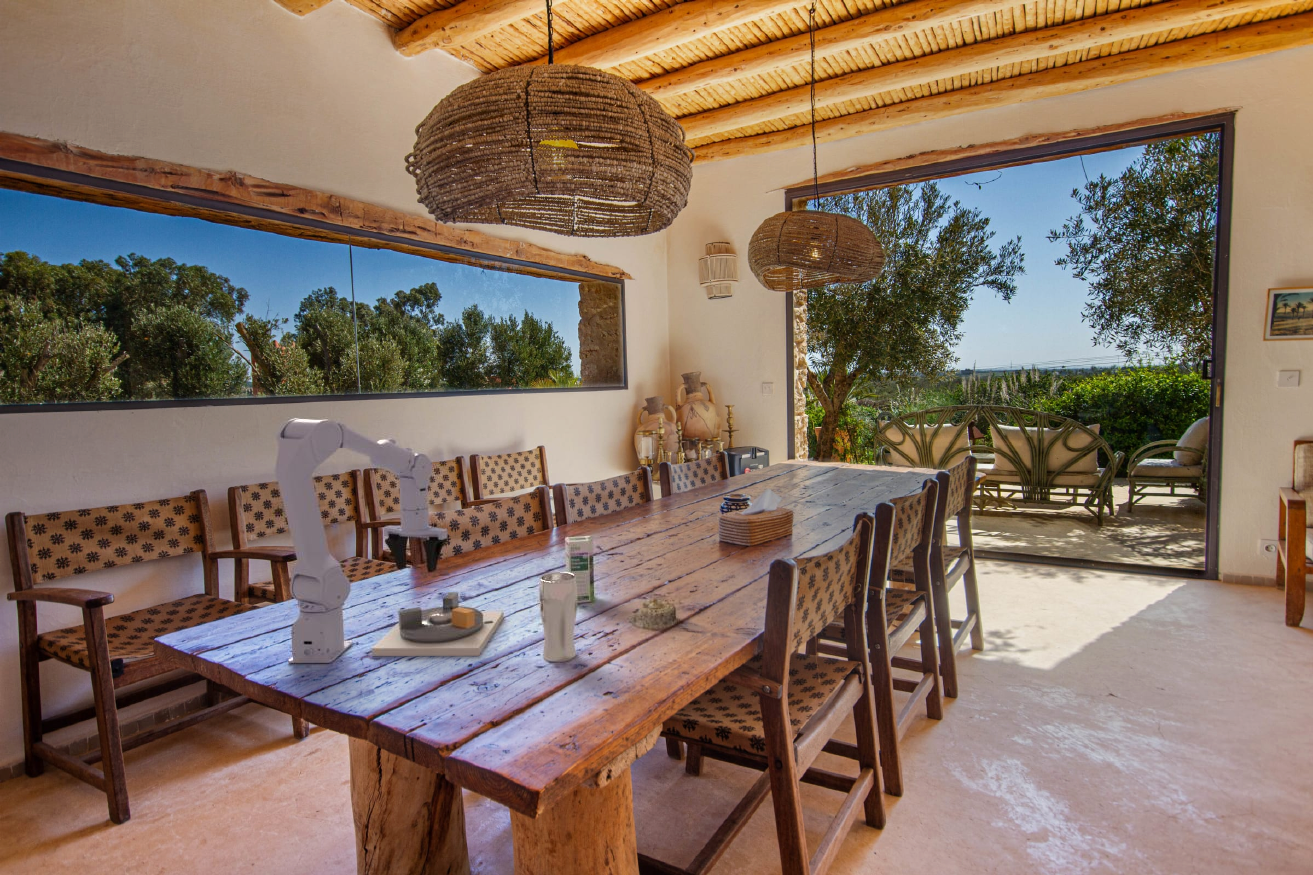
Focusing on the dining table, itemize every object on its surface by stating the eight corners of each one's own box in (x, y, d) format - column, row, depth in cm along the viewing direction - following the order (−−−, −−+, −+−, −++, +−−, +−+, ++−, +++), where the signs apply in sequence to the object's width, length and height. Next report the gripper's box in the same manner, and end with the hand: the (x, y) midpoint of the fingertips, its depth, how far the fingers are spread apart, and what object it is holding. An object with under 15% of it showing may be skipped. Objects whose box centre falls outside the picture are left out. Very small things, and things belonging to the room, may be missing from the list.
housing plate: (479, 655, 129) (478, 646, 128) (371, 655, 129) (371, 647, 129) (503, 617, 148) (503, 610, 148) (410, 618, 149) (410, 610, 149)
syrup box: (569, 604, 157) (568, 541, 155) (565, 596, 162) (564, 535, 161) (594, 602, 158) (593, 540, 157) (590, 594, 164) (589, 534, 163)
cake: (678, 616, 151) (680, 592, 150) (676, 634, 141) (678, 609, 140) (633, 611, 152) (635, 588, 151) (628, 629, 142) (629, 604, 141)
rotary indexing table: (470, 642, 130) (470, 619, 130) (386, 642, 131) (385, 619, 130) (491, 613, 146) (491, 592, 146) (416, 613, 146) (415, 592, 146)
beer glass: (560, 645, 133) (559, 569, 132) (586, 654, 129) (584, 575, 128) (532, 656, 128) (530, 577, 127) (558, 666, 124) (556, 584, 122)
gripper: (454, 506, 151) (456, 566, 153) (397, 503, 155) (399, 562, 157) (435, 512, 145) (437, 575, 146) (376, 509, 149) (379, 571, 150)
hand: (416, 569), depth 151 cm, fingers open, 7 cm apart
